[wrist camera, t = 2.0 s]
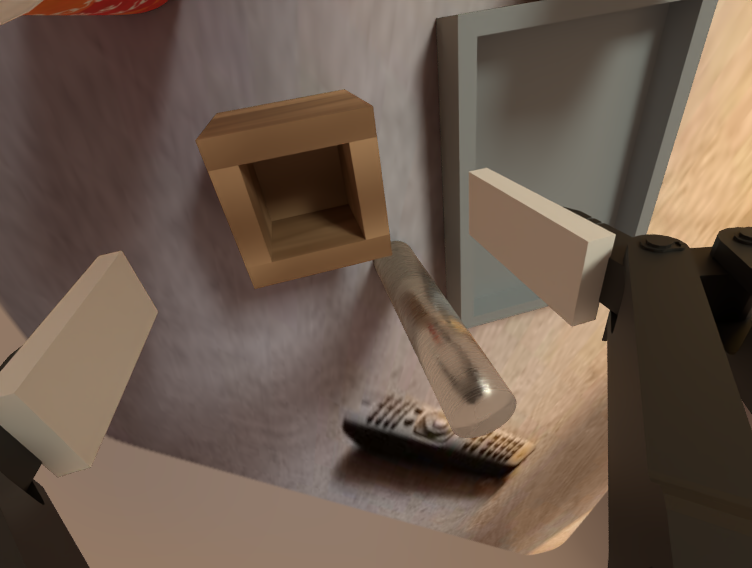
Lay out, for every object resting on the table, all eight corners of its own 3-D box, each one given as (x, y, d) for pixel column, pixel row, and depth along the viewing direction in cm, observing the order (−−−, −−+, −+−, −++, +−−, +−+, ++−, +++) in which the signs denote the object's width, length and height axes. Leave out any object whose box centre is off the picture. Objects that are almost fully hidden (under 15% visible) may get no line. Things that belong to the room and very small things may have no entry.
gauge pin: (370, 246, 26) (449, 402, 15) (411, 236, 26) (518, 381, 15) (376, 281, 28) (451, 445, 16) (414, 271, 28) (513, 425, 17)
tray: (436, 18, 20) (457, 14, 17) (679, -23, 22) (727, -32, 19) (447, 309, 31) (461, 330, 29) (606, 266, 33) (631, 282, 31)
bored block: (216, 112, 20) (195, 140, 14) (344, 89, 21) (372, 106, 15) (258, 230, 24) (254, 289, 18) (363, 206, 25) (392, 255, 19)
